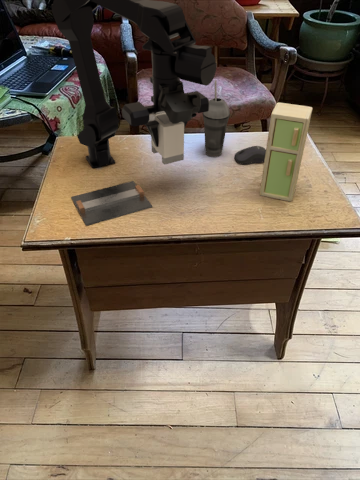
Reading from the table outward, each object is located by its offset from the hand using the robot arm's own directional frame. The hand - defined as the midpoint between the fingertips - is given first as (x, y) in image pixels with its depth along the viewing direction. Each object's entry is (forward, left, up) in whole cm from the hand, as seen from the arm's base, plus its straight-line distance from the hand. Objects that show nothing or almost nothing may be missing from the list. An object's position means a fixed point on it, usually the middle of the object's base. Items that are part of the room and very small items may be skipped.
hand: (167, 143), depth 95 cm
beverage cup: (-10, +19, -12) cm, 25 cm away
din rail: (0, -15, -12) cm, 19 cm away
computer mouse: (-2, +27, -12) cm, 30 cm away
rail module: (0, 0, -3) cm, 3 cm away
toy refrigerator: (+14, +23, -12) cm, 30 cm away
